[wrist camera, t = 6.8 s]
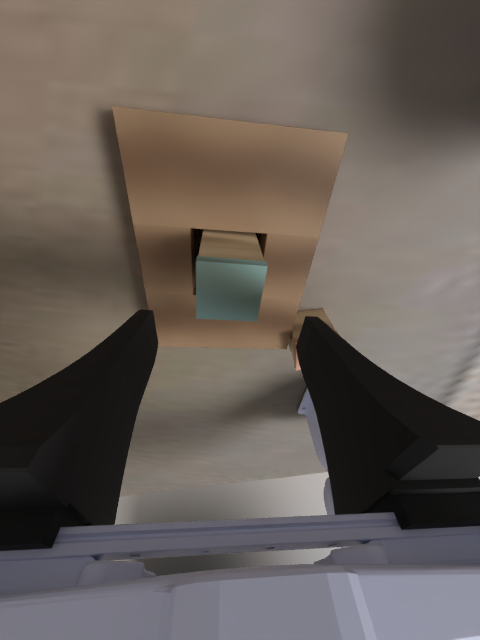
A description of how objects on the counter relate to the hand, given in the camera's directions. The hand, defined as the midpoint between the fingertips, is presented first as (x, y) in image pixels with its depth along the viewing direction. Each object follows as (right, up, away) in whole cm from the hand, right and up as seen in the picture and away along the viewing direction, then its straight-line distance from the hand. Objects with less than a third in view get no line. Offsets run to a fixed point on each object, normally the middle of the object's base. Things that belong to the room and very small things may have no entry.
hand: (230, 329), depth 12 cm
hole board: (-1, +6, +7) cm, 9 cm away
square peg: (-1, +6, +7) cm, 9 cm away
